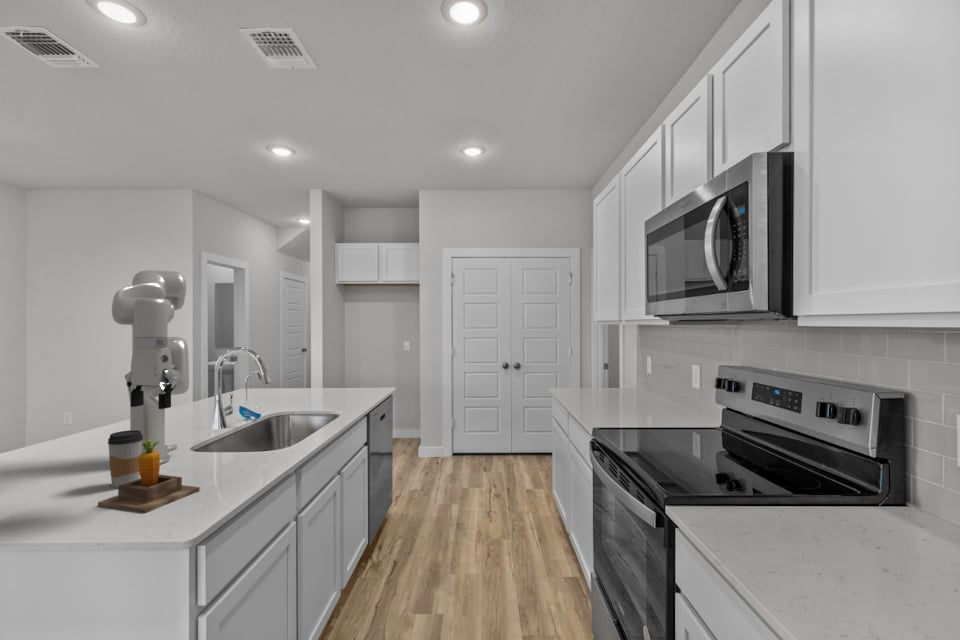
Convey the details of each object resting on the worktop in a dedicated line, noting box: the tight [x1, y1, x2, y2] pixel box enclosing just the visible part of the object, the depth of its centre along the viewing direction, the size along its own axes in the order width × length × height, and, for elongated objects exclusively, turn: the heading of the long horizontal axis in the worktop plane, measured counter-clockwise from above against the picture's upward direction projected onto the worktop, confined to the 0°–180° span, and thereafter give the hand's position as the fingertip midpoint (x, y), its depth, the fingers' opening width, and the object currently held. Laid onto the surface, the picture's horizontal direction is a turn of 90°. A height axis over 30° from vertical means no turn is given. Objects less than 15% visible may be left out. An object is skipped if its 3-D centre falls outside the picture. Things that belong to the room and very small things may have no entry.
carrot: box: [139, 439, 161, 487], centre depth 128 cm, size 5×5×15 cm
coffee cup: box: [107, 430, 143, 489], centre depth 138 cm, size 8×8×15 cm
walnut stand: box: [97, 474, 201, 514], centre depth 128 cm, size 16×16×4 cm
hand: (150, 407), depth 128 cm, fingers open, 9 cm apart
